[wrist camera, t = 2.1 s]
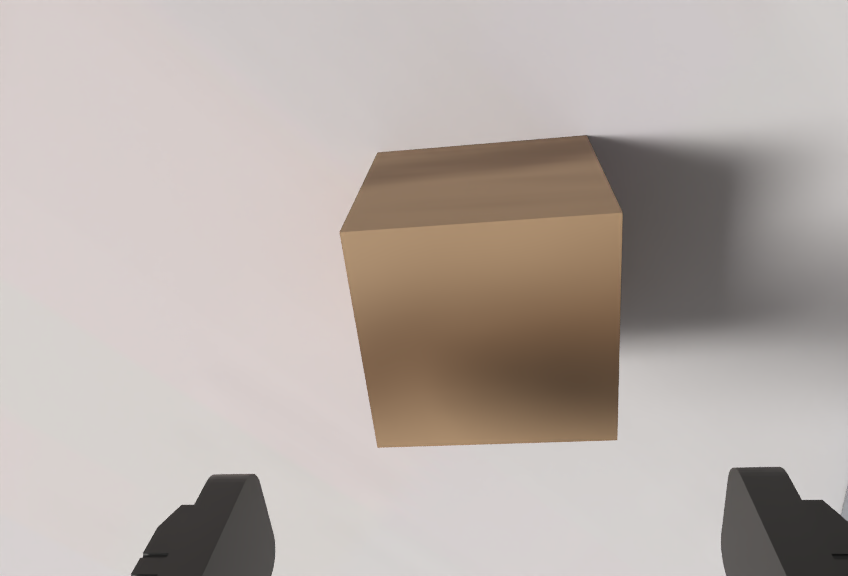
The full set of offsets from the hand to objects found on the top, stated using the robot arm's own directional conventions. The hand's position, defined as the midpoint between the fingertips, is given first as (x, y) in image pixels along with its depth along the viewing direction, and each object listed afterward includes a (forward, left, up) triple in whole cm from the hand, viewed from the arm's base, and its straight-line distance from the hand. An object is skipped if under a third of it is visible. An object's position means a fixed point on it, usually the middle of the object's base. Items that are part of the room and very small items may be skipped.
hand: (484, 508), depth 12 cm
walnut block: (0, 0, -11) cm, 11 cm away
